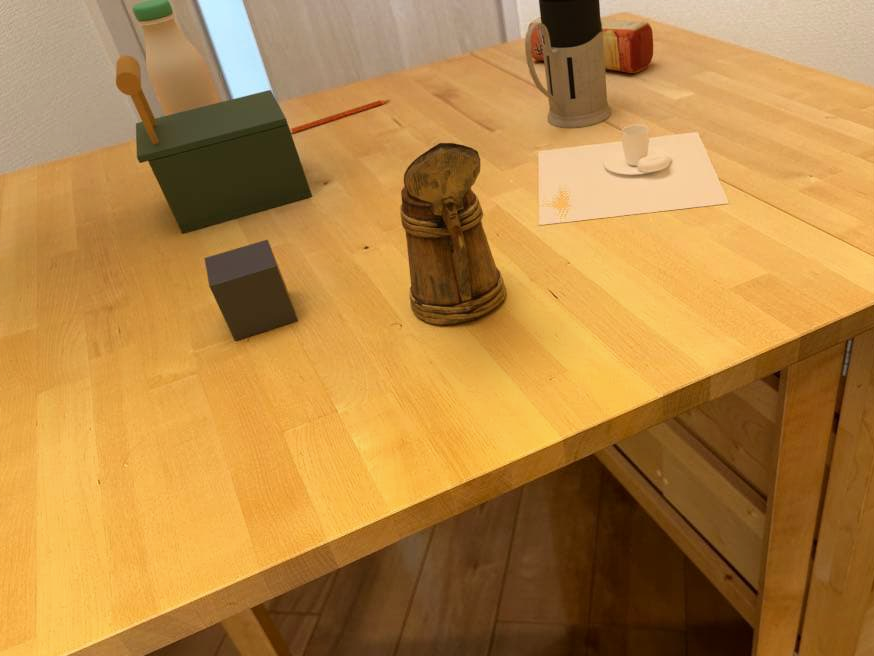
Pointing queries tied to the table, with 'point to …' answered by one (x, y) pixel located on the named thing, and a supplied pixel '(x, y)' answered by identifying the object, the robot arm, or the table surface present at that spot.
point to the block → (250, 290)
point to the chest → (231, 178)
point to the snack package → (614, 44)
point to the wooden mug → (448, 238)
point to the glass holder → (572, 62)
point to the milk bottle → (173, 61)
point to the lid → (194, 118)
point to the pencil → (337, 116)
